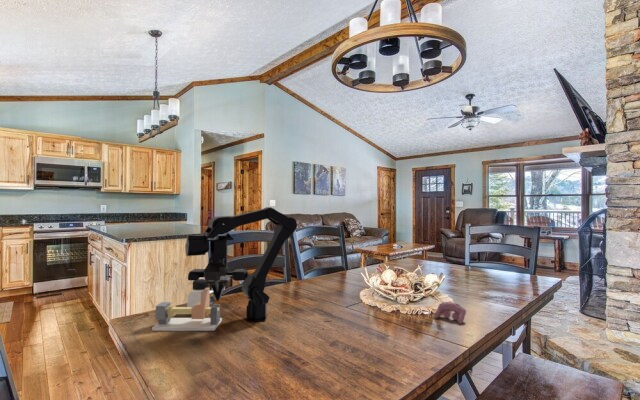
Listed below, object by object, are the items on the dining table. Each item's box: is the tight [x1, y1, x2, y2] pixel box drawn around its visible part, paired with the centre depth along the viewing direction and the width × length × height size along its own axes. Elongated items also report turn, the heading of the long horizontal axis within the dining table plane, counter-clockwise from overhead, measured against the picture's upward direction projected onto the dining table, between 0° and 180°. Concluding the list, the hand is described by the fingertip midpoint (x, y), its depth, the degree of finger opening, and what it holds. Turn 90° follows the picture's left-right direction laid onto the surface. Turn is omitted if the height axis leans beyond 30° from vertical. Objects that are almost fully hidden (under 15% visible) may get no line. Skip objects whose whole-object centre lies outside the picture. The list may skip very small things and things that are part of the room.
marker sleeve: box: [190, 287, 211, 319], centre depth 112 cm, size 4×6×9 cm, turn 1°
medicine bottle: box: [186, 278, 215, 307], centre depth 127 cm, size 7×7×12 cm
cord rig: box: [151, 301, 223, 332], centre depth 112 cm, size 20×9×7 cm, turn 91°
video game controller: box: [434, 301, 467, 325], centre depth 120 cm, size 10×5×7 cm, turn 48°
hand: (218, 300), depth 112 cm, fingers closed
